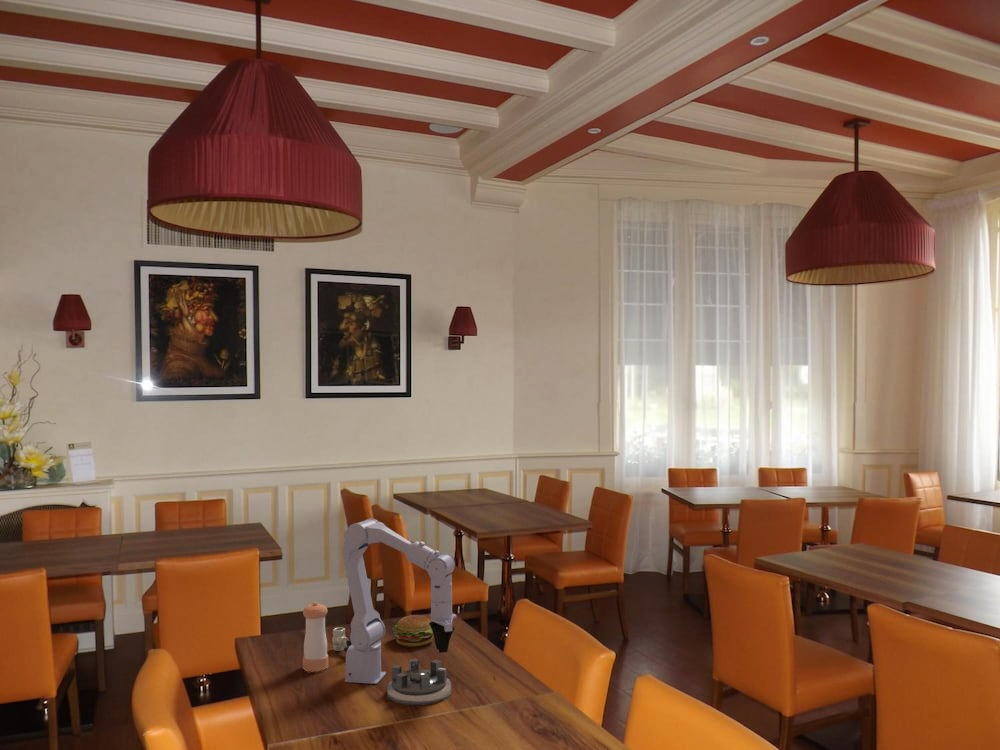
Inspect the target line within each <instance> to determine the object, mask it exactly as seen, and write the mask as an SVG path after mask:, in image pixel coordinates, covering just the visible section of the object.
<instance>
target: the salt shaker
mask: <svg viewBox="0 0 1000 750" xmlns="http://www.w3.org/2000/svg"><path fill="white" fill-rule="evenodd" d="M302 614H303V617H304V618H305V633H304V634H305V636H304V642H303V656H302V670H303V669H304V670H305V671H311V672H313V671H320V670H324V669H326V668H327V669H328V668H329V654H328V640H327V639H328V638H327V635H326V616H327V614H328V608H327V606H326V605H324V604H322V603H318V602H317V601H313V602H312V604H311V603H310V604H309V605H306V606H305V607H304V609H303V611H302ZM327 669H326V670H327ZM305 671H304V672H305ZM324 671H325V670H324Z"/></svg>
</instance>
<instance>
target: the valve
mask: <svg viewBox="0 0 1000 750" xmlns="http://www.w3.org/2000/svg"><path fill="white" fill-rule="evenodd" d="M332 635H333V636H332V640H331V641H332V644H333V645H332V650H333V649H334V650H336V651H338V650H340V651H341V650H344V652H346V653H347V650H348V648H349V646H352V643H351V640H350V639H349V638H348V637H346V628H344V626H343V627H341V626H340V627H339V626H338V627H335V628H333V629H332Z"/></svg>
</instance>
